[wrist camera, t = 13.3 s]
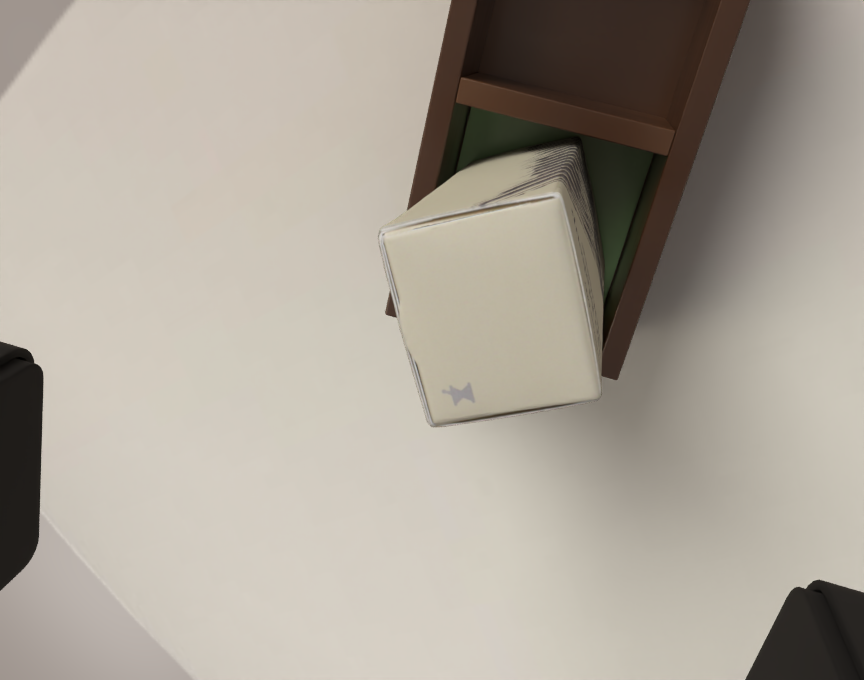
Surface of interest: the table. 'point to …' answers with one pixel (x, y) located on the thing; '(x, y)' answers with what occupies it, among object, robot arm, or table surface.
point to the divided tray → (586, 114)
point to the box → (502, 286)
